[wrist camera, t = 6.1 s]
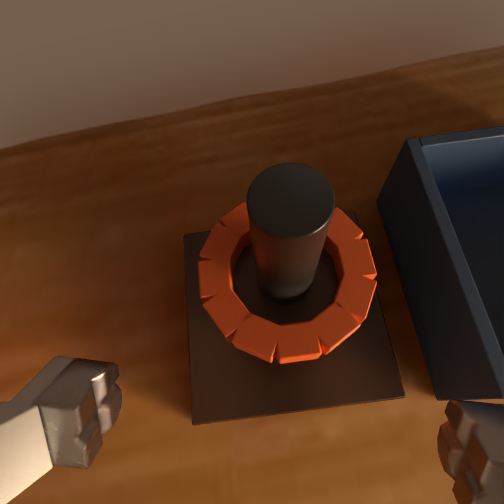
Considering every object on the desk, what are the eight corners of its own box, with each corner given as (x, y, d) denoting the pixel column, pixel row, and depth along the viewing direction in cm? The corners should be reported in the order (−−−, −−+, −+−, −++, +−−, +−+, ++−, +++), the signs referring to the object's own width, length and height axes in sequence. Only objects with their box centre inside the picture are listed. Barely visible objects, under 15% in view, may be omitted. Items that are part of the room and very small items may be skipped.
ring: (346, 198, 16) (352, 182, 14) (387, 350, 13) (397, 344, 12) (199, 218, 16) (193, 203, 14) (210, 373, 13) (204, 370, 12)
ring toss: (350, 222, 22) (427, 35, 11) (396, 398, 18) (594, 386, 7) (188, 244, 22) (100, 80, 11) (198, 424, 18) (73, 453, 7)
